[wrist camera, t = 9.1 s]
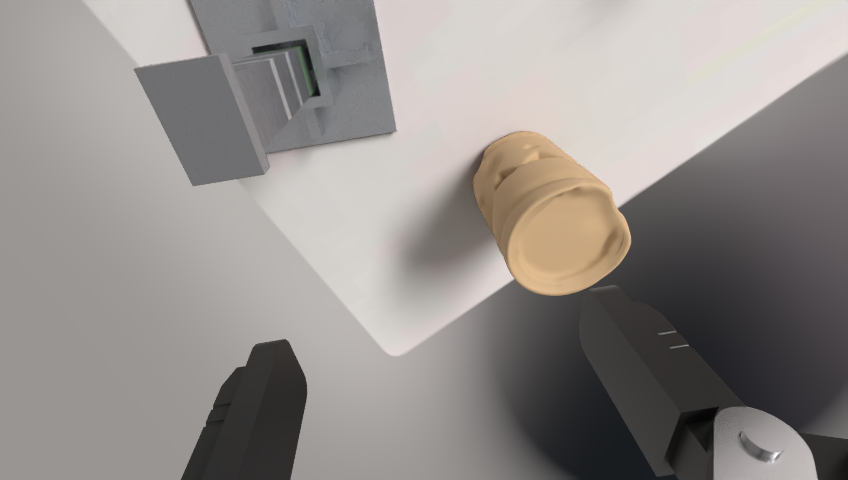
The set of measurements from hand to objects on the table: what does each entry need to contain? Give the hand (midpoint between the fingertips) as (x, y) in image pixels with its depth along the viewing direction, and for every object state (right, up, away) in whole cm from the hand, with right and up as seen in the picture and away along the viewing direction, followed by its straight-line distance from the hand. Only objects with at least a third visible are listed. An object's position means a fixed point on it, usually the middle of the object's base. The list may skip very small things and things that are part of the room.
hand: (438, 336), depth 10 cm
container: (+12, +12, +42) cm, 45 cm away
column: (-13, +19, +26) cm, 34 cm away
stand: (-14, +23, +32) cm, 42 cm away
